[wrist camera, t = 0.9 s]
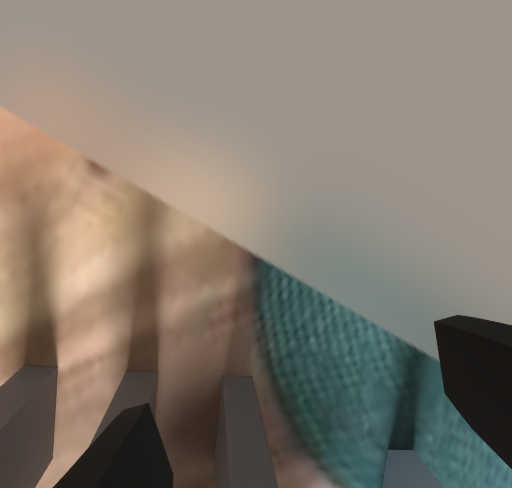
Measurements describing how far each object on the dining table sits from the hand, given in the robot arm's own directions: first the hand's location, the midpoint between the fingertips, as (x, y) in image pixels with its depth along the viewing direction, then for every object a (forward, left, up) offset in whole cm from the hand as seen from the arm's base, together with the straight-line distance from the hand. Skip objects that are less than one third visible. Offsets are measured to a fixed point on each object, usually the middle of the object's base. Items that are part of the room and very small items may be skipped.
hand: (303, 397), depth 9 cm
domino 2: (-7, 0, -11) cm, 13 cm away
